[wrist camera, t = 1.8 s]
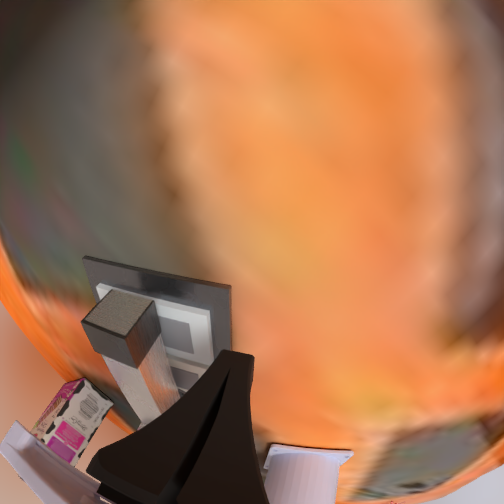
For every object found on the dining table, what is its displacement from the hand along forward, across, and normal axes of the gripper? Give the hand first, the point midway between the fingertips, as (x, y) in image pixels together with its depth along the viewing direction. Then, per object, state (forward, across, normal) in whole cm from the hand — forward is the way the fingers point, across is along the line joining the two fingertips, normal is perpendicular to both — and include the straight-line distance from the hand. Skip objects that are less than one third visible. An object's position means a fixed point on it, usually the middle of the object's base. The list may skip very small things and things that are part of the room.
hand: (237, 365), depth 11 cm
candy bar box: (+3, +21, +20) cm, 29 cm away
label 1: (+2, +6, +1) cm, 6 cm away
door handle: (+1, +6, +5) cm, 7 cm away
